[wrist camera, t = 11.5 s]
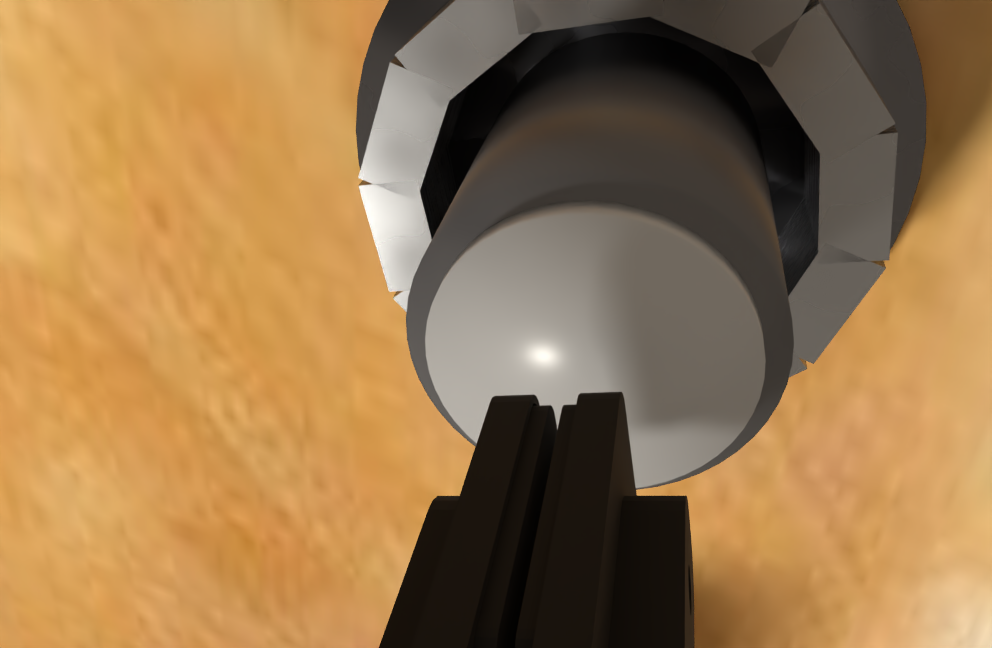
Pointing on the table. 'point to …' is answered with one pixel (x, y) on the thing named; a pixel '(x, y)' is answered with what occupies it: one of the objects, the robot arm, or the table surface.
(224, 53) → the table surface
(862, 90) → the flanged grey collar
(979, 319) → the table surface
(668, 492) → the table surface
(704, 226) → the grey cylinder
